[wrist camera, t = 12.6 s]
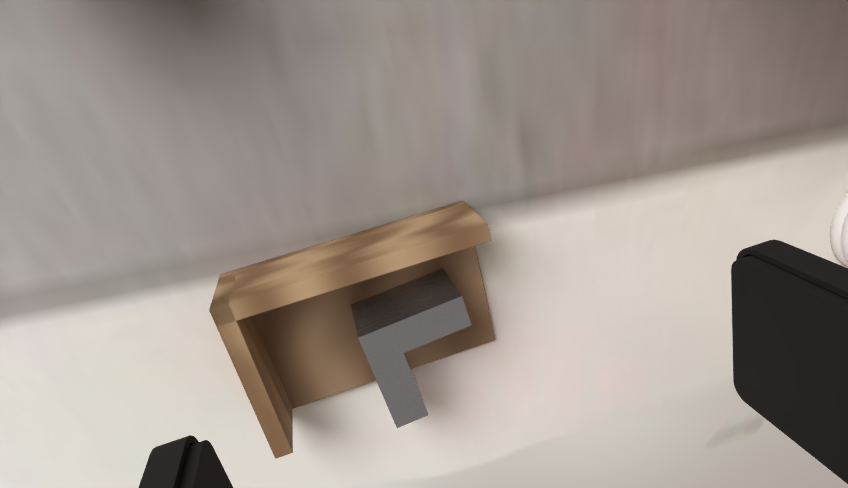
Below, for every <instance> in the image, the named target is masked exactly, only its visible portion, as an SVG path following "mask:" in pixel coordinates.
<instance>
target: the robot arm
mask: <svg viewBox="0 0 848 488" xmlns="http://www.w3.org/2000/svg"><path fill="white" fill-rule="evenodd" d="M731 280H732V329H733V377H734V386H735V389H736V391H737V393H738V394H739V396H740V397H741V398H742V400H743V401H744V402H746V403H747V404H748V405H749V406H750V407H752V408H753V409H754V410H755V411H757V412H758V413H759V414H760V415H762V416H763V417H764V418H766V419H767V420H768V421H769V422H771V423H772V424H773V425H774V426H776V427H777V428H778V429H779V430H781V431H782V432H783V433H784V434H786V435H787V436H788V437H789V438H791V439H792V440H793V441H795V442H796V443H797V444H798V445H799V446H801V447H802V448H803V449H805V450H806V451H807V452H808V453H810V454H811V455H812V456H813V457H815V458H816V459H817V460H818V461H820V462H821V463H822V464H823V465H825V466H826V467H827V468H828V469H830V470H831V471H832V472H833V473H835V474H836V475H837V476H838V477H840V478H841V479H842V480H843V481H845V482H846V483H847V484H848V268H845V267H843V266H840V265H838V264H836V263H833V262H831V261H828V260H826V259H823V258H821V257H818V256H816V255H813V254H811V253H809V252H806V251H804V250H801V249H799V248H796V247H794V246H791V245H789V244H787V243H784V242H782V241H778V240H769V241H766V242H763V243H760V244H757V245H754V246H751V247H748V248H746V249H743V250H742V251H740V252H739V254H738V256H737V260H736V261H735V262H733V264H732V268H731ZM139 488H233V486H232V484H231V482H230V480H229V478H228V476H227V474H226V472H225V470H224V468H223V466H222V464H221V462H220V460H219V458H218V456H217V454H216V452H215V450H214V448H213V446H212V445H211V443H210V442H209V441H207V440H205V441H202V442H198V440H197V439H196V438H195V437H194V436H187V437H184V438H181V439H178V440H175V441H172V442H169V443H166V444H164V445H161V446H158V447H155V448H154V449H153V450H152V452H151V453H150V456H149V459H148V462H147V465H146V468H145V471H144V474H143V477H142V479H141V482H140V485H139Z"/></svg>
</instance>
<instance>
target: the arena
mask: <svg viewBox="0 0 848 488" xmlns="http://www.w3.org/2000/svg"><path fill="white" fill-rule="evenodd" d="M488 241H491V237H490V232H489V227H488V223H486V222H485V221H484V220H483V219H482V218H481V217H480V216H479V215H478V214H477V213H476V212H475V211H474V210H472V209H471V208H470V207H469V206H468V205H467V204H466V203H465V202H464V201H460V202H457V203H454V204H451V205H447V206H444V207H441V208H437V209H434V210H431V211H428V212H424V213H421V214H418V215H414V216H411V217H408V218H405V219H401V220H398V221H395V222H391V223H388V224H385V225H382V226H378V227H375V228H372V229H368V230H365V231H362V232H358V233H355V234H352V235H349V236H345V237H342V238H339V239H335V240H332V241H329V242H326V243H322V244H319V245H316V246H312V247H309V248H306V249H303V250H299V251H296V252H293V253H289V254H286V255H283V256H280V257H276V258H273V259H270V260H266V261H263V262H260V263H257V264H253V265H250V266H247V267H243V268H240V269H237V270H234V271H230V272H227V273H224V274H220V277H219V280H218V284H217V287H216V290H215V293H214V297H213V300H212V303H211V306H210V310H209V311H210V313H211V315H212V317H213V320H214V322H215V324H216V326H217V329H218V331H219V333H220V335H221V338H222V340H223V342H224V344H225V347H226V349H227V351H228V353H229V355H230V358H231V360H232V362H233V364H234V367H235V369H236V371H237V373H238V376H239V378H240V380H241V382H242V385H243V387H244V389H245V391H246V394H247V396H248V398H249V400H250V403H251V405H252V407H253V409H254V412H255V414H256V416H257V418H258V421H259V423H260V425H261V427H262V429H263V432H264V434H265V436H266V438H267V441H268V443H269V445H270V447H271V450H272V452H273V454H274V456H275V459H276V458H279V457H282V456H284V455H287V454H290V453H293V440H292V409H293V408H296V407H299V406H302V405H305V404H308V403H310V402H313V401H316V400H319V399H322V398H325V397H328V396H331V395H334V394H337V393H340V392H343V391H346V390H349V389H352V388H355V387H358V386H361V385H364V384H367V383H370V382H373V381H375V380H376V378H375V376H374V374H373V371H372V369H371V367H370V364H369V362H368V360H367V357H366V355H365V353H364V351H363V348H362V346H361V344H360V341H359V339H358V336H357V331H356V327H355V322H354V318H353V313H352V309H351V304H353V303H356V302H359V301H361V300H364V299H366V298H369V297H371V296H374V295H376V294H379V293H381V292H384V291H386V290H389V289H391V288H394V287H396V286H399V285H402V284H404V283H407V282H409V281H412V280H414V279H417V278H419V277H422V276H424V275H427V274H429V273H432V272H434V271H437V270H439V269H442V268H444V270H445V271H446V273H447V274H448V276H449V277H450V279H451V280H452V282H453V283H454V285H455V286H456V288H457V289H458V291H459V292H460V294H461V295H462V297H463V301H464V304H465V307H466V310H467V313H468V316H469V319H470V322H471V326H469V327H466V328H464V329H461V330H459V331H456V332H454V333H452V334H449V335H447V336H444V337H442V338H439V339H437V340H434V341H432V342H429V343H427V344H425V345H422V346H420V347H417V348H415V349H412V350H410V351H407V352H405V355H406V357H407V360H408V362H409V365H410V367H411V368H414V367H417V366H420V365H423V364H426V363H429V362H432V361H435V360H438V359H440V358H443V357H446V356H449V355H452V354H455V353H458V352H461V351H464V350H467V349H470V348H473V347H476V346H479V345H482V344H485V343H488V342H491V341H494V340H495V336H494V332H493V327H492V322H491V318H490V313H489V309H488V304H487V300H486V295H485V290H484V286H483V281H482V277H481V272H480V268H479V263H478V258H477V254H476V249H475V245H478V244H481V243H485V242H488Z"/></svg>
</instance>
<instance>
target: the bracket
mask: <svg viewBox="0 0 848 488" xmlns="http://www.w3.org/2000/svg"><path fill="white" fill-rule="evenodd" d="M351 309H352V313H353V318H354V322H355V327H356V331H357V336H358V339H359V341H360V344H361V346H362V348H363V351H364V353H365V355H366V357H367V360H368V362H369V364H370V367H371V369H372V371H373V374H374V376H375V378H376V381H377V383H378V385H379V388H380V390H381V392H382V394H383V397H384V399H385V401H386V404H387V406H388V408H389V411H390V413H391V415H392V418H393V420H394V422H395V424H396V427H397V428H399V427H401V426H403V425H406V424H408V423H411V422H413V421H415V420H418V419H420V418H422V417H425V416H427V415H428V413H427V410H426V407H425V405H424V402H423V399H422V396H421V394H420V391H419V388H418V385H417V383H416V380H415V377H414V375H413V372H412V370H411V367H410V365H409V362H408V360H407V357H406V355H405V352H407V351H410V350H412V349H415V348H417V347H420V346H422V345H425V344H427V343H429V342H432V341H434V340H437V339H439V338H442V337H444V336H447V335H449V334H452V333H454V332H456V331H459V330H461V329H464V328H466V327H469V326H471V322H470V319H469V316H468V313H467V310H466V307H465V304H464V301H463V297H462V295H461V294H460V292H459V291H458V289H457V288H456V286H455V285H454V283H453V282H452V280H451V279H450V277H449V276H448V274H447V273H446V271H445V270H444V268H442V269H439V270H437V271H434V272H432V273H429V274H427V275H424V276H422V277H419V278H417V279H414V280H412V281H409V282H407V283H404V284H402V285H399V286H396V287H394V288H391V289H389V290H386V291H384V292H381V293H379V294H376V295H374V296H371V297H369V298H366V299H364V300H361V301H359V302H356V303H353V304H351Z"/></svg>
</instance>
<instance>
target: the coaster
mask: <svg viewBox="0 0 848 488" xmlns="http://www.w3.org/2000/svg"><path fill="white" fill-rule="evenodd" d="M830 240H831V246H832V249H833V252H834V254H835V256H836V257H837V258H838V259H839V260H840V261H841V262H842V263H843V264H844V265H846V266H848V191H847V192H846V193H845V195H844V196H843V198H842V199H841V201H840V203H839V205H838V206H837V208H836V211H835V213H834V216H833V219H832V224H831V230H830Z"/></svg>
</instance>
